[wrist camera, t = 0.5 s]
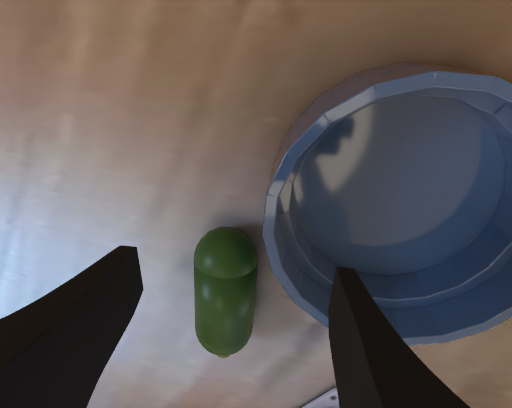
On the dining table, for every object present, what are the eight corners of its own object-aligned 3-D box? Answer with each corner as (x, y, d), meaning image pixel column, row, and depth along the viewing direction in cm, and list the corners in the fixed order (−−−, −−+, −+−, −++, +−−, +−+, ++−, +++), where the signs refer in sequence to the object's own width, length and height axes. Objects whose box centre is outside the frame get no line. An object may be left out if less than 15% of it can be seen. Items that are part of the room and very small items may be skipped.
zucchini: (252, 334, 28) (247, 379, 24) (202, 328, 28) (190, 372, 24) (261, 218, 23) (257, 252, 20) (201, 213, 23) (185, 246, 20)
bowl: (379, 318, 25) (396, 382, 21) (226, 193, 23) (206, 235, 18) (580, 185, 20) (664, 232, 15) (408, -4, 17) (446, -18, 12)
